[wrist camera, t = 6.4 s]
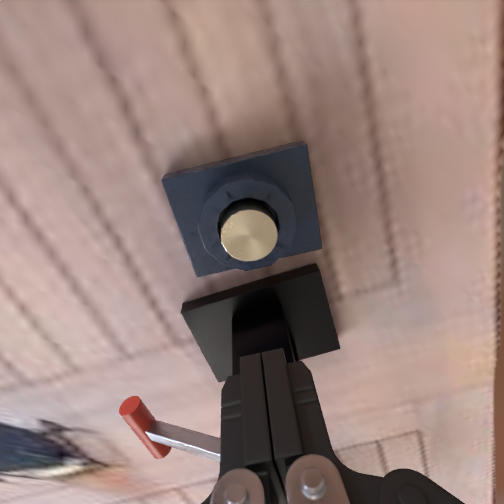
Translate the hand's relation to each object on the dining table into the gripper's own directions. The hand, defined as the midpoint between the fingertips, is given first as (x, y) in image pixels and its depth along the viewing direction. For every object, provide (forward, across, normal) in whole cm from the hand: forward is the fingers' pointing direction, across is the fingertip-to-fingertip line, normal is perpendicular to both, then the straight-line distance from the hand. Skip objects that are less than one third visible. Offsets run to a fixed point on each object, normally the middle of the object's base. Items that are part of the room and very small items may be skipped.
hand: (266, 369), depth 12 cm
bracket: (+16, +1, +11) cm, 19 cm away
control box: (+16, 0, 0) cm, 16 cm away
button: (+13, 0, 0) cm, 13 cm away
